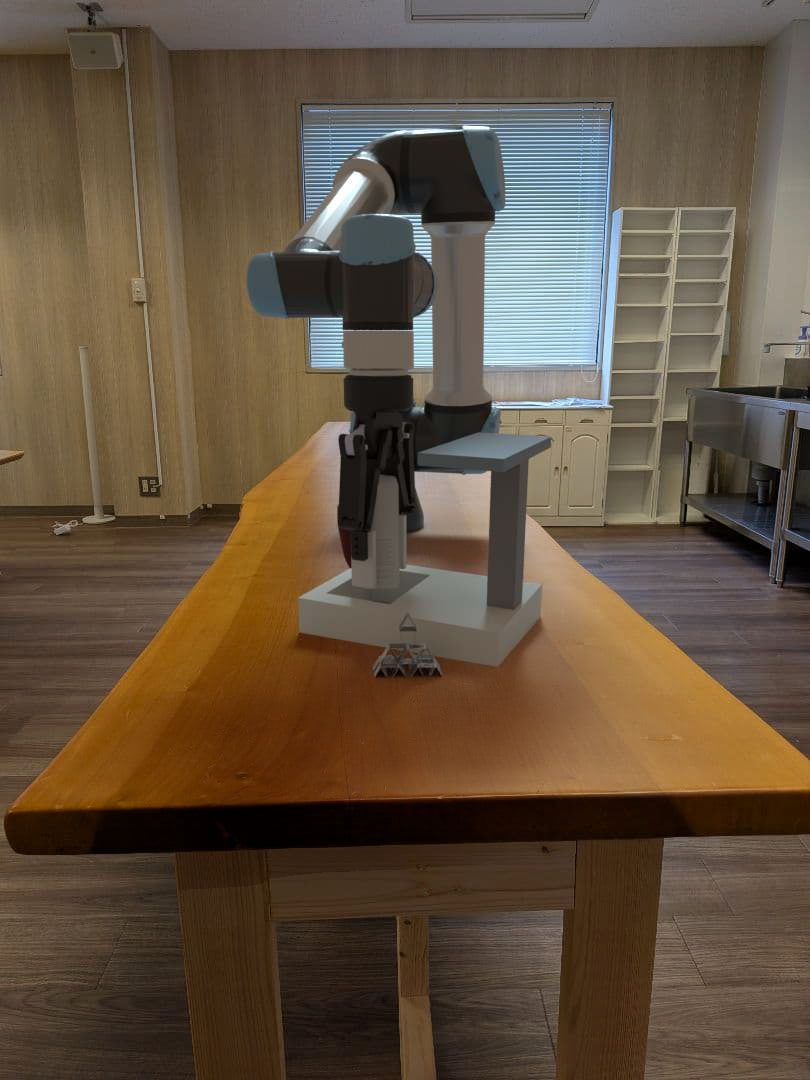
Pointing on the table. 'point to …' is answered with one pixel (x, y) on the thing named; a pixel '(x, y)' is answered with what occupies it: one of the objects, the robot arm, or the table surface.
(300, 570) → the table surface
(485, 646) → the socket block
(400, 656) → the house of cards
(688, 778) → the table surface
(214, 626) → the table surface
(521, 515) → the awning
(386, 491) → the skincare box
